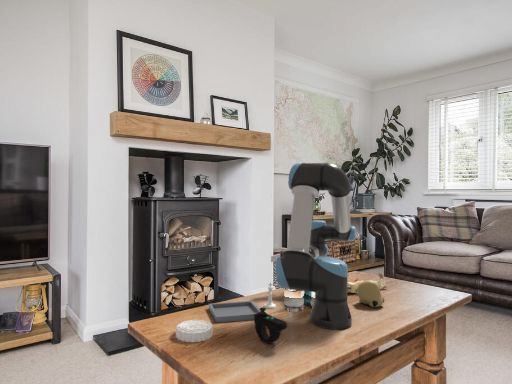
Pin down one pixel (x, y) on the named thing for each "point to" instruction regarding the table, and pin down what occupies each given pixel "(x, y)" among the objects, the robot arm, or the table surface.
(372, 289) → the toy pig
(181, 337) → the mooncake
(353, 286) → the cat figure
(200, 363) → the table surface
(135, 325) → the table surface
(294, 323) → the table surface
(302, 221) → the robot arm
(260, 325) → the controller
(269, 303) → the chess piece
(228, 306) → the tray
